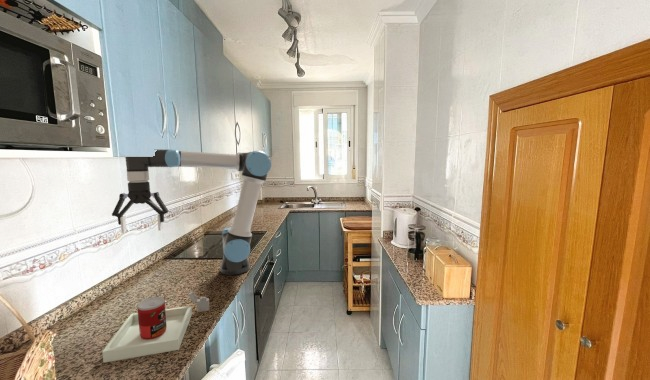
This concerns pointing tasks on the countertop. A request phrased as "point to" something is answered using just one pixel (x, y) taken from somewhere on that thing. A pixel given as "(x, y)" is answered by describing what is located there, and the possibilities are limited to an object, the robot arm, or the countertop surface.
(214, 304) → the countertop surface
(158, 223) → the robot arm
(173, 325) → the tray
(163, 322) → the canned food
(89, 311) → the countertop surface
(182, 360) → the countertop surface
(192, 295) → the lighter
